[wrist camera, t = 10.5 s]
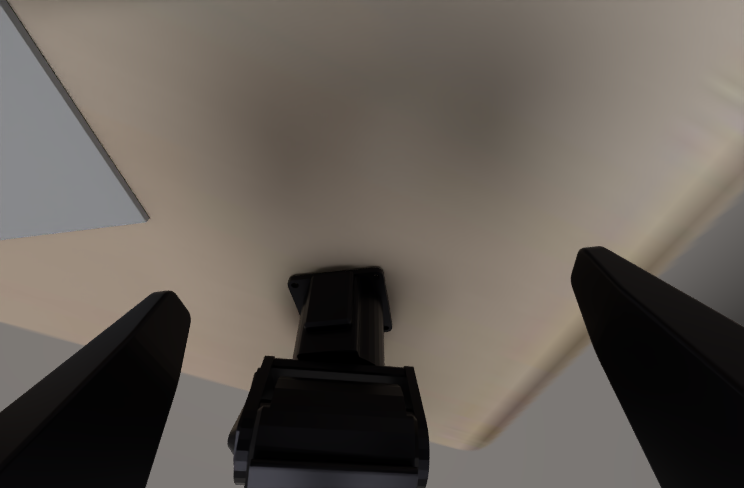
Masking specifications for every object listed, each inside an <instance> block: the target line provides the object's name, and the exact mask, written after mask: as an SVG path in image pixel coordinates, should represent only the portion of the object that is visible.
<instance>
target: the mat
mask: <svg viewBox="0 0 744 488" xmlns="http://www.w3.org/2000/svg"><path fill="white" fill-rule="evenodd" d="M148 219H149V217H148V215H147V214H146V212H145V211H144V209H143V208H142V206H141V205H140V203H139V202H138V200H137V199H136V197H135V196H134V194H133V192H132V191H131V189H130V188H129V186H128V185H127V183H126V182H125V180H124V179H123V177H122V176H121V174H120V173H119V171H118V170H117V168H116V167H115V165H114V164H113V162H112V161H111V159H110V158H109V156H108V155H107V153H106V152H105V150H104V148H103V147H102V145H101V144H100V142H99V141H98V139H97V138H96V136H95V135H94V133H93V132H92V130H91V129H90V127H89V126H88V124H87V123H86V121H85V120H84V118H83V117H82V115H81V114H80V112H79V111H78V109H77V107H76V106H75V104H74V103H73V101H72V100H71V98H70V97H69V95H68V94H67V92H66V91H65V89H64V88H63V86H62V85H61V83H60V82H59V80H58V79H57V77H56V76H55V74H54V73H53V71H52V70H51V68H50V67H49V65H48V63H47V62H46V60H45V59H44V57H43V56H42V54H41V53H40V51H39V50H38V48H37V47H36V45H35V44H34V42H33V41H32V39H31V38H30V36H29V35H28V33H27V32H26V30H25V29H24V27H23V26H22V24H21V22H20V21H19V19H18V18H17V16H16V15H15V13H14V12H13V10H12V9H11V7H10V6H9V4H8V3H7V1H6V0H0V240H5V239H13V238H22V237H30V236H38V235H46V234H54V233H63V232H71V231H79V230H87V229H95V228H103V227H112V226H120V225H128V224H136V223H144V222H147V221H148Z"/></svg>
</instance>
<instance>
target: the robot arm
mask: <svg viewBox="0 0 744 488" xmlns="http://www.w3.org/2000/svg"><path fill="white" fill-rule="evenodd" d="M375 274H376V275H377V276H375ZM295 283H297V284H295ZM571 285H572V288H573V291H574V294H575V297H576V299H577V302H578V305H579V308H580V311H581V314H582V317H583V320H584V322H585V325H586V328H587V331H588V334H589V337H590V340H591V342H592V345H593V347H594V350H595V352H596V354H597V357H598V359H599V361H600V363H601V365H602V367H603V369H604V371H605V373H606V375H607V377H608V379H609V381H610V384H611V386H612V388H613V390H614V391H615V394H616V396H617V398H618V400H619V402H620V404H621V406H622V408H623V410H624V412H625V414H626V416H627V418H628V420H629V423H630V425H631V427H632V429H633V431H634V433H635V435H636V437H637V439H638V441H639V443H640V445H641V447H642V449H643V451H644V453H645V455H646V457H647V459H648V462H649V464H650V466H651V468H652V470H653V472H654V474H655V476H656V478H657V480H658V482H659V484H660V486H661V488H744V327H743V326H741V325H740V324H738V323H736V322H734V321H733V320H731V319H729V318H727V317H726V316H724V315H722V314H720V313H719V312H717V311H715V310H713V309H712V308H710V307H708V306H706V305H705V304H703V303H701V302H699V301H698V300H696V299H694V298H692V297H691V296H689V295H687V294H685V293H683V292H682V291H680V290H678V289H676V288H675V287H673V286H671V285H670V284H668V283H666V282H664V281H663V280H661V279H659V278H657V277H656V276H654V275H652V274H650V273H649V272H647V271H645V270H643V269H642V268H640V267H638V266H636V265H635V264H633V263H631V262H629V261H627V260H626V259H624V258H622V257H620V256H619V255H617V254H615V253H613V252H612V251H610V250H608V249H606V248H604V247H601V246H596V247H586V248H582V249H580V250H579V251H578V254H577V257H576V260H575V264H574V267H573V270H572V274H571ZM288 288H289V290H290V292H291V295H292V297H293V300H294V302H295V304H296V307H297V309H298V312H299V314H300V321H299V327H298V332H297V337H296V343H295V348H294V354H293V359H281V358H275V356H265V357H264V360H263V362H262V365H261V368H258V370H257V372H255V374H254V377H253V381H252V385H251V389H250V392H249V394H248V397H247V400H246V403H245V405H244V407H243V409H242V411H241V413H240V415H239V417H238V419H237V421H236V422H235V424H234V426H233V428H232V430H231V432H230V434H229V437H228V447H229V449H230V450H231V452H232V453H233V455H234V483H235V484H236V485H245V486H244V488H425V487H426V484H427V479H428V472H429V435H428V428H427V422H426V418H425V413H424V409H423V405H422V401H421V397H420V392H419V388H418V384H417V380H416V375H415V371H414V367H411V366H404V367H390V366H385V363H384V332H389V331H391V330H392V320H391V314H390V308H389V303H388V297H387V291H386V285H385V279H384V273H383V270H382V269H380V268H366V269H356V270H347V271H337V272H328V273H318V274H308V275H299V276H292V277H290V278H289V280H288ZM190 323H191V317H190V313H189V311H188V310H187V309H186V307H185V306H184V304H183V303H182V302H181V300H180V299H179V297H178V296H177V295H176V293H174V292H173V291H160V292H154V293H152V294H150V295H149V296H148V297H147V298H145V299H144V300H143V301H141V302H140V303H139V304H138V305H136V306H135V307H134V308H133V309H131V310H130V311H129V312H127V313H126V314H125V315H124V316H122V317H121V318H120V319H119V320H117V321H116V322H115V323H113V324H112V325H111V326H110V327H108V328H107V329H106V330H104V331H103V332H102V333H101V334H99V335H98V336H97V337H96V338H94V339H93V340H92V341H90V342H89V343H88V344H87V345H85V346H84V347H83V348H82V349H80V350H79V351H78V352H77V353H75V354H74V355H73V356H71V357H70V358H69V359H68V360H66V361H65V362H64V363H62V364H61V365H60V366H59V367H57V368H56V369H55V370H54V371H52V372H51V373H50V374H49V375H47V376H46V377H45V378H43V379H42V380H41V381H40V382H38V383H37V384H36V385H34V386H33V387H32V388H31V389H29V390H28V391H27V392H26V393H24V394H23V395H22V396H21V397H19V398H18V399H17V400H15V401H14V402H13V403H12V404H10V405H9V406H8V407H6V408H5V409H4V410H3V411H1V412H0V488H145V487H146V484H147V480H148V478H149V474H150V471H151V468H152V465H153V462H154V459H155V455H156V452H157V449H158V446H159V443H160V440H161V437H162V433H163V430H164V427H165V424H166V421H167V417H168V414H169V411H170V408H171V405H172V402H173V398H174V395H175V392H176V388H177V385H178V381H179V377H180V373H181V368H182V363H183V358H184V353H185V348H186V343H187V338H188V333H189V328H190Z"/></svg>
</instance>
